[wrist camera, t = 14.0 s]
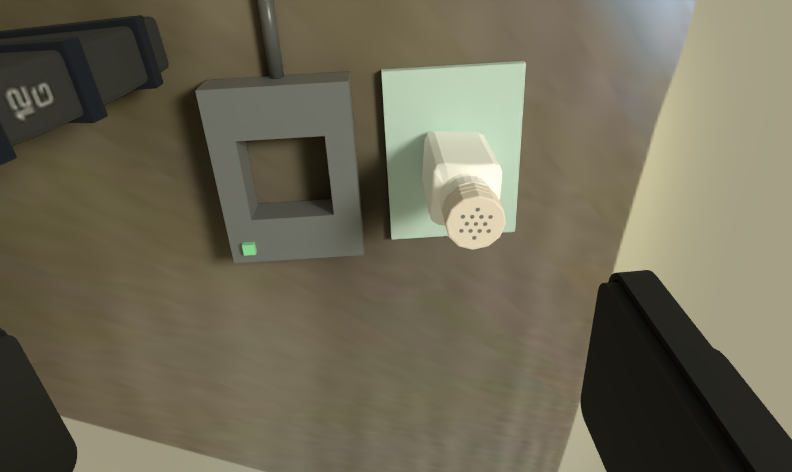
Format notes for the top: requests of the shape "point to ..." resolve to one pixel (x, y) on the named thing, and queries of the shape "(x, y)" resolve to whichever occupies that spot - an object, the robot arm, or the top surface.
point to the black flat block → (72, 73)
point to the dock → (277, 119)
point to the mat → (453, 112)
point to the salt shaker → (463, 187)
